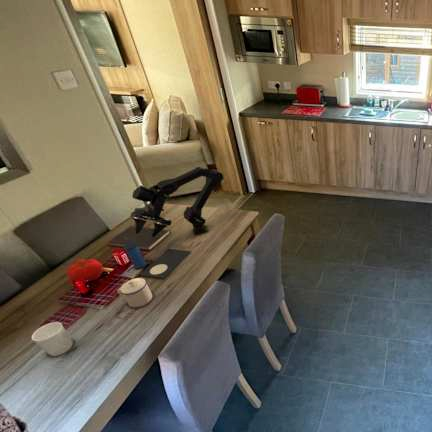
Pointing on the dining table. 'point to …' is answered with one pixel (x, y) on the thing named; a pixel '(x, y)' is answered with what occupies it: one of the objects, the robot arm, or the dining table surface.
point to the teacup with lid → (136, 292)
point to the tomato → (85, 270)
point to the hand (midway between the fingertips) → (144, 235)
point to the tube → (135, 255)
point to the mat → (165, 264)
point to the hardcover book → (139, 238)
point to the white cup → (53, 338)
